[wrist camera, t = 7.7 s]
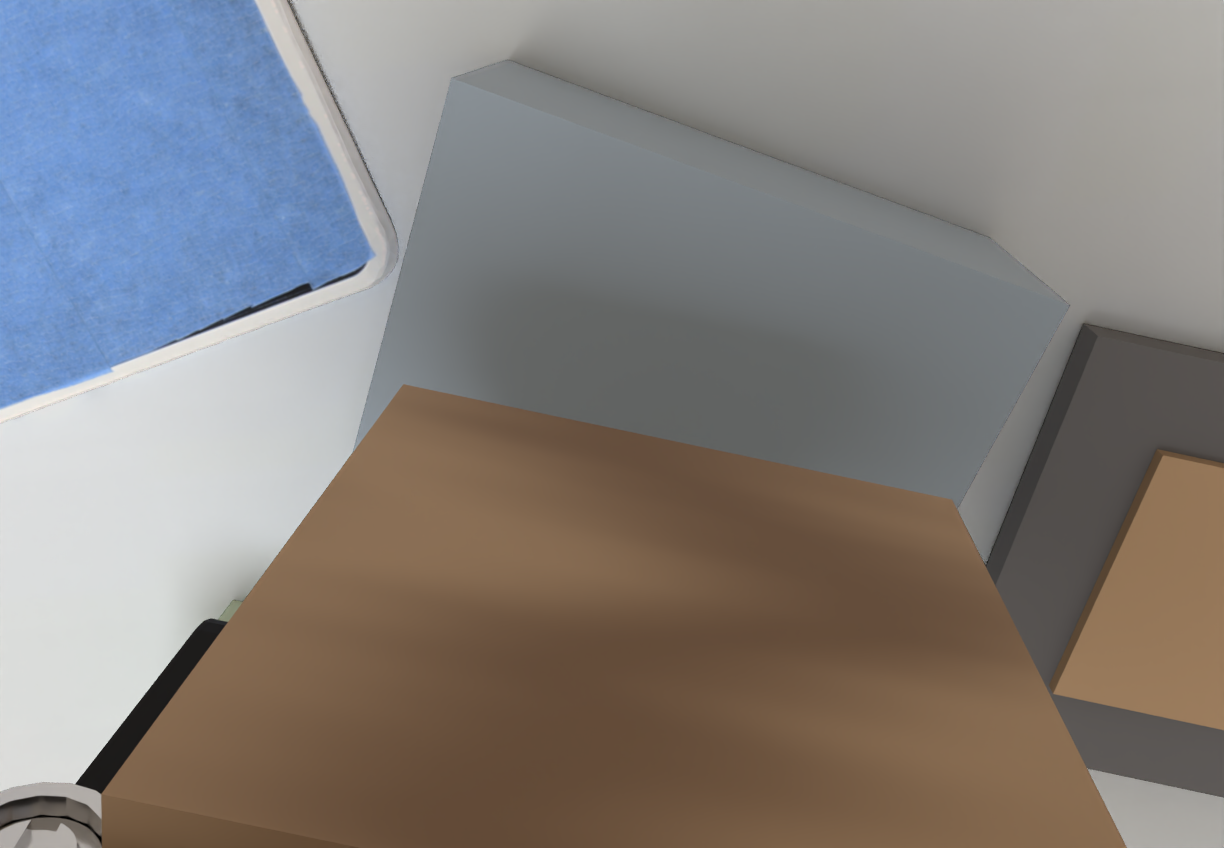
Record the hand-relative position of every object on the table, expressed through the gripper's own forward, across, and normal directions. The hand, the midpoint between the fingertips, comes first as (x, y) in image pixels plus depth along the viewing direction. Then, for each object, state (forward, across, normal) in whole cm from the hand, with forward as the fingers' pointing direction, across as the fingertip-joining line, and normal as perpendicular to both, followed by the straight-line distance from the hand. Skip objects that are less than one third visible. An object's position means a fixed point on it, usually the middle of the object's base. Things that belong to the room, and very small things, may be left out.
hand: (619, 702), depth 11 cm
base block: (+11, 0, 0) cm, 11 cm away
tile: (+11, -13, +2) cm, 17 cm away
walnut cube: (+1, 0, 0) cm, 1 cm away
